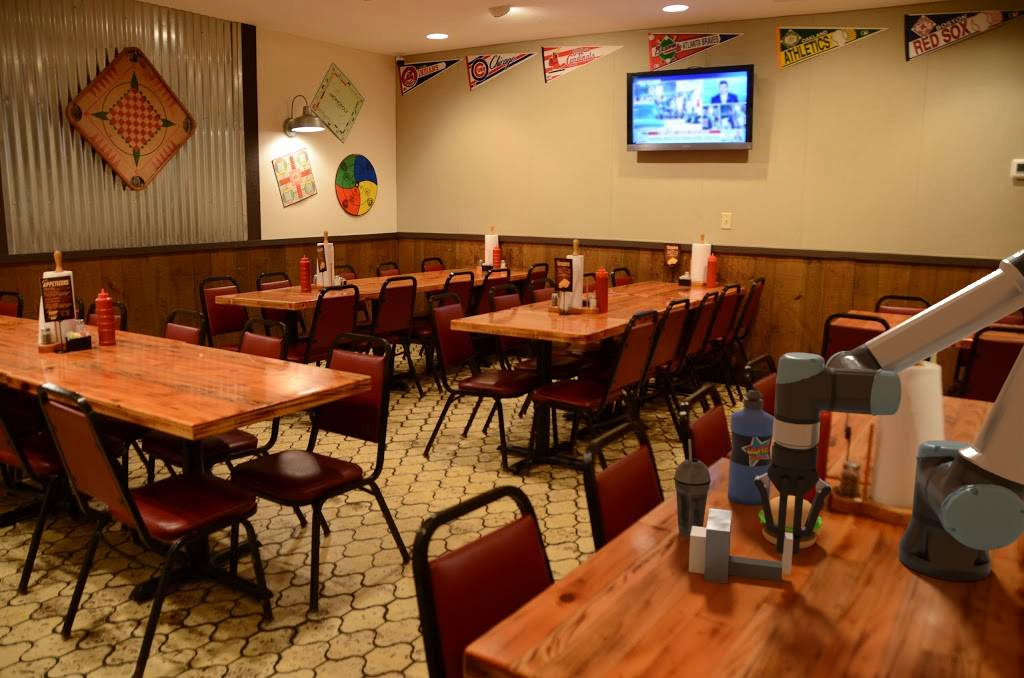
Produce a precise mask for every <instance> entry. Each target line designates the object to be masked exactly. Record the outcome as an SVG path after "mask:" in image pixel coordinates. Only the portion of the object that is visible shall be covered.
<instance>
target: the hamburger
mask: <svg viewBox="0 0 1024 678" xmlns="http://www.w3.org/2000/svg"><path fill="white" fill-rule="evenodd" d="M779 498H780V495H778V496H776V497H774V498H772V499H769V500H770V506H771V511H772V516H773V521H774V523H775V524H777V525H778V512H779ZM794 504H795V496H794V495H788V500H787V512H786V526H785V533H793V518H794ZM811 506H812V503H810V501H808V500H806V499H804V498H803V508H802V522H801V527H804V525H805V522H806V520H807V517H808V514H809V511H810V508H811ZM758 518H759V519H760V521H759V525H760V526H762V525H763V528H762V535H763V537H764V538H765V540H766V541H767V542H769V543H771V544H772V545H774V546H776V543H777V535H776V534H775V533H771V532H768V530H767V526H766V521H765V516H764V511H763V509H760V511H759V512H758ZM822 525H823V519H822V516H821V517H820V516H818V518H817V521H816V524H815V527H814V529H813V532H812V535H811V536H810V537H807V536H805V537H802V538H801V539H800V547H799V550H800V549H807V548H810V547H811V546H813V545H814V544H815V542H816V541H817V536H820V535H821V526H822ZM816 534H817V535H816Z"/></svg>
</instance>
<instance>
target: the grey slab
mask: <svg viewBox="0 0 1024 678" xmlns="http://www.w3.org/2000/svg"><path fill="white" fill-rule="evenodd" d="M732 516H733V515H732V510H729V509H720V508H712V507H711V508H710V507H709V509H708V516H707V517H708V518H707V522H706V546H705V569H704V574H703V581H704V582H710V583H712V582H713V583H719V584H726V585H728V578H729V574H728V562H729V556H731V555H730V554H731V552H730V551H731V533H732Z"/></svg>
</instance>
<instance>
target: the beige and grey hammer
mask: <svg viewBox="0 0 1024 678" xmlns="http://www.w3.org/2000/svg"><path fill="white" fill-rule="evenodd" d="M706 527H707V526H706ZM706 527H704V526H703V527H698V526H692V529H691V534H690V538H689V557H688V561H689V562H688V572H689V573H694V574H703V575H704V569H705V546H706ZM729 575H731V576H739V577H745V578H746V577H747V578H753V579H761V580H762V579H763V580H770V581H776V582H782V579H783V573H782V561H776V560H769V559H762V558H761V559H760V558H752V557H744V556H737V555H730V556H729V562H728V576H729Z"/></svg>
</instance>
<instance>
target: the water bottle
mask: <svg viewBox="0 0 1024 678" xmlns="http://www.w3.org/2000/svg"><path fill="white" fill-rule="evenodd" d="M744 396H745V398H743V406H742V407H743V409H740V410H738V411H735V412H733V413H731V415H730V426H729V428H730V431H731V432H730V433H731V436H730V437H731V444H732V446H731V451H730V457H729V461H728V462H729V464H728V480H727V481H728V483H727V498H728V499H729V500H730V501H732V502H734V503H736V504H739V505H745V506H763V505H762V500H761V495H760V492H759V490H758V489H757V487H756V485H755V476H757V475H759V476H761V475H763V474H765V473H767V470H768V468H769V467H770V465H771V448H772V443H773V441H772V440H773V424H774V415H771V414H769V413H768V412H766V411H764V409H763V408H764V399H762V398H763V397H764V395H763V394H762V392H760V391H759V390H758V389H754V388H752V389H749V390H748V391H747V392H746V393H745V394H744ZM768 482H769V486H768V487H767V490H768V495H769V498H770V495H771V493H770V492H771V480H770V479H769V481H768Z"/></svg>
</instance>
